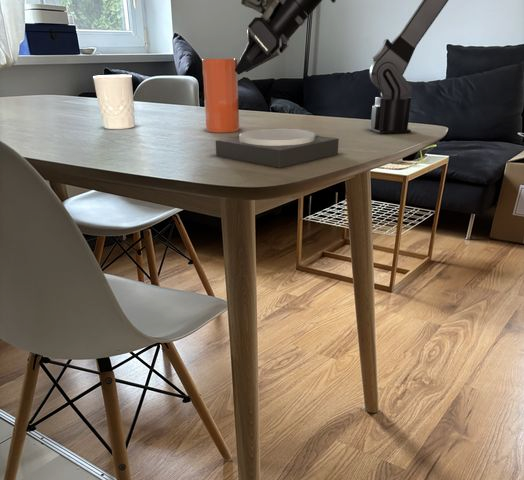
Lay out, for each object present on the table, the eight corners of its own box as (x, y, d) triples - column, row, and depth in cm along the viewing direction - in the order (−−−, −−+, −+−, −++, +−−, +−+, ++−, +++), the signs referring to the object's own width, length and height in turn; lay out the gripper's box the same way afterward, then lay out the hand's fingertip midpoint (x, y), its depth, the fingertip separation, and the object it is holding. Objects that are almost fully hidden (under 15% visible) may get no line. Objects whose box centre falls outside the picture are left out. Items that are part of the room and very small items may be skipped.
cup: (236, 127, 111) (234, 58, 104) (240, 131, 105) (238, 59, 98) (205, 128, 110) (201, 59, 103) (207, 133, 104) (203, 59, 97)
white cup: (133, 129, 109) (126, 76, 104) (96, 129, 109) (87, 77, 104) (141, 124, 116) (135, 74, 111) (107, 124, 116) (99, 75, 111)
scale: (274, 144, 91) (274, 125, 89) (337, 154, 83) (339, 133, 81) (216, 155, 83) (215, 134, 81) (279, 167, 74) (279, 144, 72)
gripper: (273, -28, 100) (220, 38, 107) (260, -42, 84) (199, 37, 91) (311, 19, 103) (258, 80, 110) (305, 15, 87) (243, 87, 94)
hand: (240, 71), depth 101 cm, fingers open, 9 cm apart
